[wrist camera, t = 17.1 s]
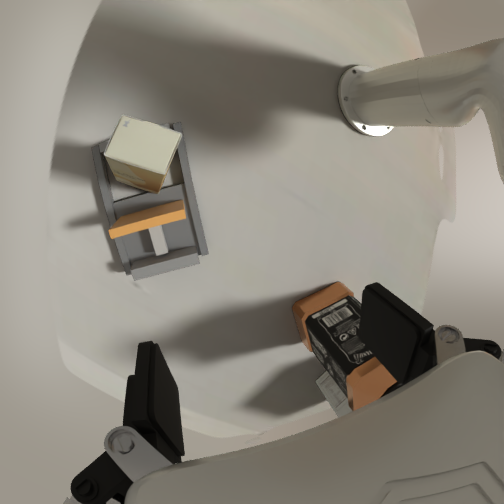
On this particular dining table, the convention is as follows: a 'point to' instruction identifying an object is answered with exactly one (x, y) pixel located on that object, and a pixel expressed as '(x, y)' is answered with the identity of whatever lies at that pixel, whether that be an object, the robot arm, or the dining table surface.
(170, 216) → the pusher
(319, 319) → the whiskey bottle
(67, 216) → the dining table surface
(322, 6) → the dining table surface
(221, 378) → the dining table surface
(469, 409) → the robot arm
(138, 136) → the skincare box
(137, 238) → the grey shallow rectangular tray
